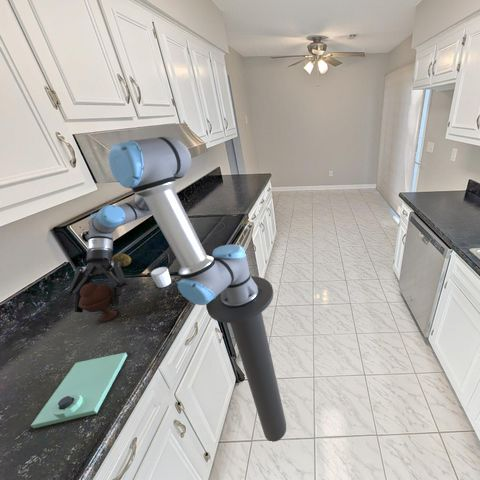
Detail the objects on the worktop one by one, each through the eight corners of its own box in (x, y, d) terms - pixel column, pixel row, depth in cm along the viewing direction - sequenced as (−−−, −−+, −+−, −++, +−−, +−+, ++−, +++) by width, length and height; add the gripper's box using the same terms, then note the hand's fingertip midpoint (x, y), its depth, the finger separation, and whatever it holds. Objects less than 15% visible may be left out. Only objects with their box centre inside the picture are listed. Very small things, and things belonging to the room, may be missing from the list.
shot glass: (152, 287, 113) (146, 274, 110) (164, 278, 119) (159, 265, 115) (163, 289, 111) (158, 276, 108) (176, 280, 117) (171, 267, 113)
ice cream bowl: (89, 331, 91) (67, 299, 84) (93, 314, 99) (73, 283, 92) (124, 318, 95) (106, 286, 89) (125, 302, 104) (109, 272, 97)
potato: (136, 257, 138) (130, 245, 134) (131, 269, 127) (125, 256, 124) (119, 261, 135) (112, 248, 132) (112, 274, 125) (104, 260, 121)
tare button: (75, 398, 66) (72, 394, 66) (69, 407, 64) (66, 404, 63) (65, 400, 66) (61, 397, 65) (58, 410, 64) (55, 406, 63)
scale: (127, 355, 81) (123, 348, 79) (96, 413, 65) (91, 406, 64) (78, 365, 78) (73, 359, 77) (33, 428, 63) (26, 422, 61)
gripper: (57, 254, 93) (50, 315, 86) (127, 243, 97) (126, 301, 90) (73, 259, 100) (68, 315, 94) (138, 249, 104) (138, 303, 97)
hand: (97, 308), depth 92 cm, fingers closed on ice cream bowl, 11 cm apart
